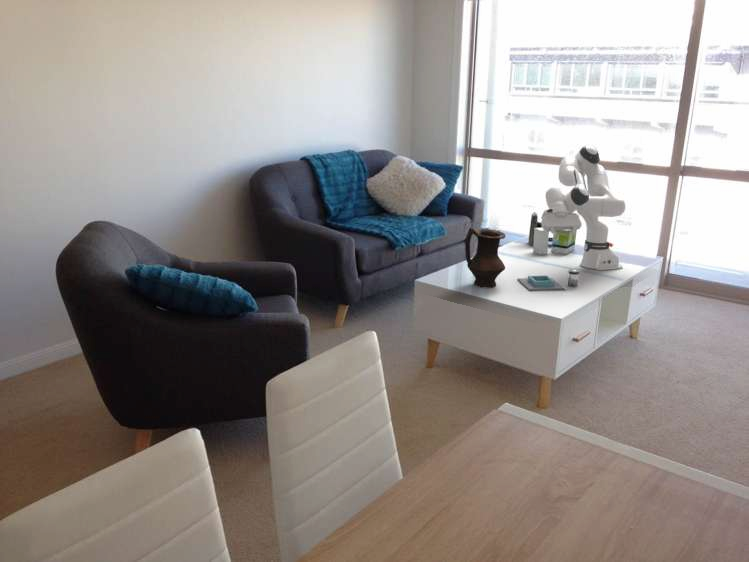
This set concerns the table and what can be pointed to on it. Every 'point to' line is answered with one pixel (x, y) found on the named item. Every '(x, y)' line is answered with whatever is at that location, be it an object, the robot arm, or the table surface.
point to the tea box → (563, 241)
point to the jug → (485, 256)
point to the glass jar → (573, 277)
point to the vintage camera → (535, 225)
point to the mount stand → (540, 283)
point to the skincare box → (540, 241)
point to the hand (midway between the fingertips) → (564, 235)
